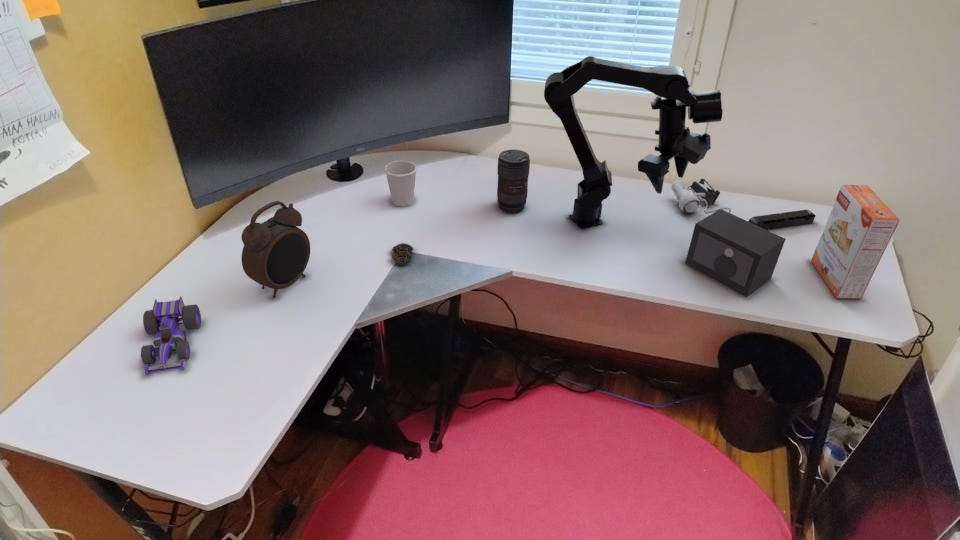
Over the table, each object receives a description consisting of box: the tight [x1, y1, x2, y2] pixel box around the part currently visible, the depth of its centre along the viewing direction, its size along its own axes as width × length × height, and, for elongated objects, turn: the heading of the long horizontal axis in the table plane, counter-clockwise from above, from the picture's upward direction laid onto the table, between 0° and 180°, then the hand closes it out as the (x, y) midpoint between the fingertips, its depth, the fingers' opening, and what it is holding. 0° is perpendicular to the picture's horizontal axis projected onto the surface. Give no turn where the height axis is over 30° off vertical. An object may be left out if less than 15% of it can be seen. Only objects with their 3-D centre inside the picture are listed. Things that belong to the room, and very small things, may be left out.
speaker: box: [684, 208, 786, 297], centre depth 138 cm, size 16×10×11 cm, turn 40°
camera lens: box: [496, 149, 531, 214], centre depth 159 cm, size 8×8×15 cm
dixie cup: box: [384, 159, 418, 207], centre depth 162 cm, size 8×8×10 cm
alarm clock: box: [241, 200, 311, 299], centre depth 130 cm, size 15×7×20 cm, turn 148°
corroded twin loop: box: [391, 242, 414, 265], centre depth 144 cm, size 5×8×1 cm, turn 3°
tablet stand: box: [747, 209, 817, 231], centre depth 157 cm, size 18×3×3 cm, turn 104°
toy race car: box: [140, 295, 202, 376], centre depth 118 cm, size 10×15×6 cm, turn 13°
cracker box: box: [810, 184, 901, 300], centre depth 133 cm, size 14×6×21 cm, turn 178°
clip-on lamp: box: [670, 178, 732, 214], centre depth 161 cm, size 12×6×18 cm
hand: (669, 184), depth 149 cm, fingers open, 9 cm apart
